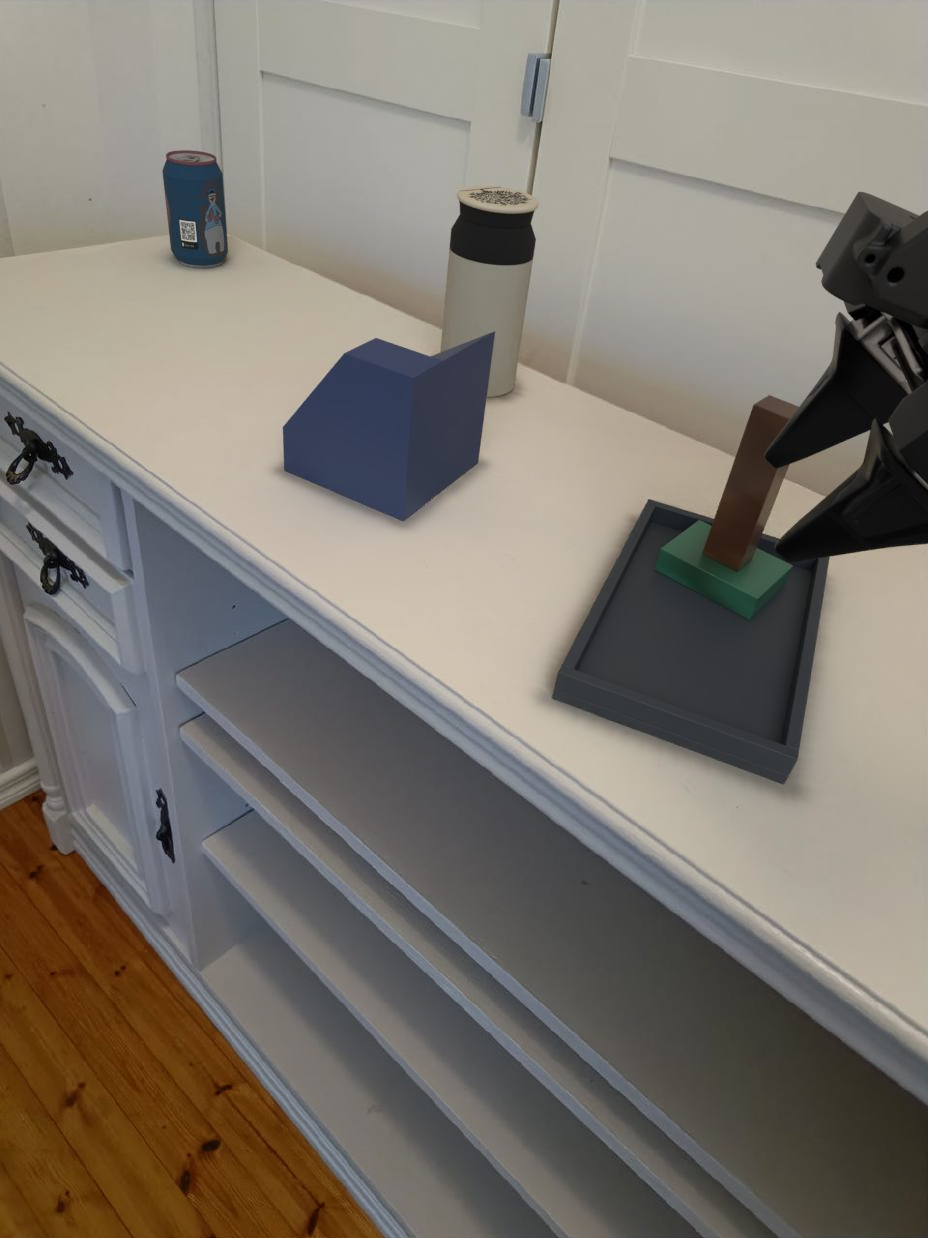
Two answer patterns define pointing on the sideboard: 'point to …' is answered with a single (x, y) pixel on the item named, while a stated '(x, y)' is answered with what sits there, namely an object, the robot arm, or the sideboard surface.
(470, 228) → the travel mug
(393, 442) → the phone stand
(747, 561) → the brown post on base
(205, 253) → the soda can
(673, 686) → the tray
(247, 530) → the sideboard surface
